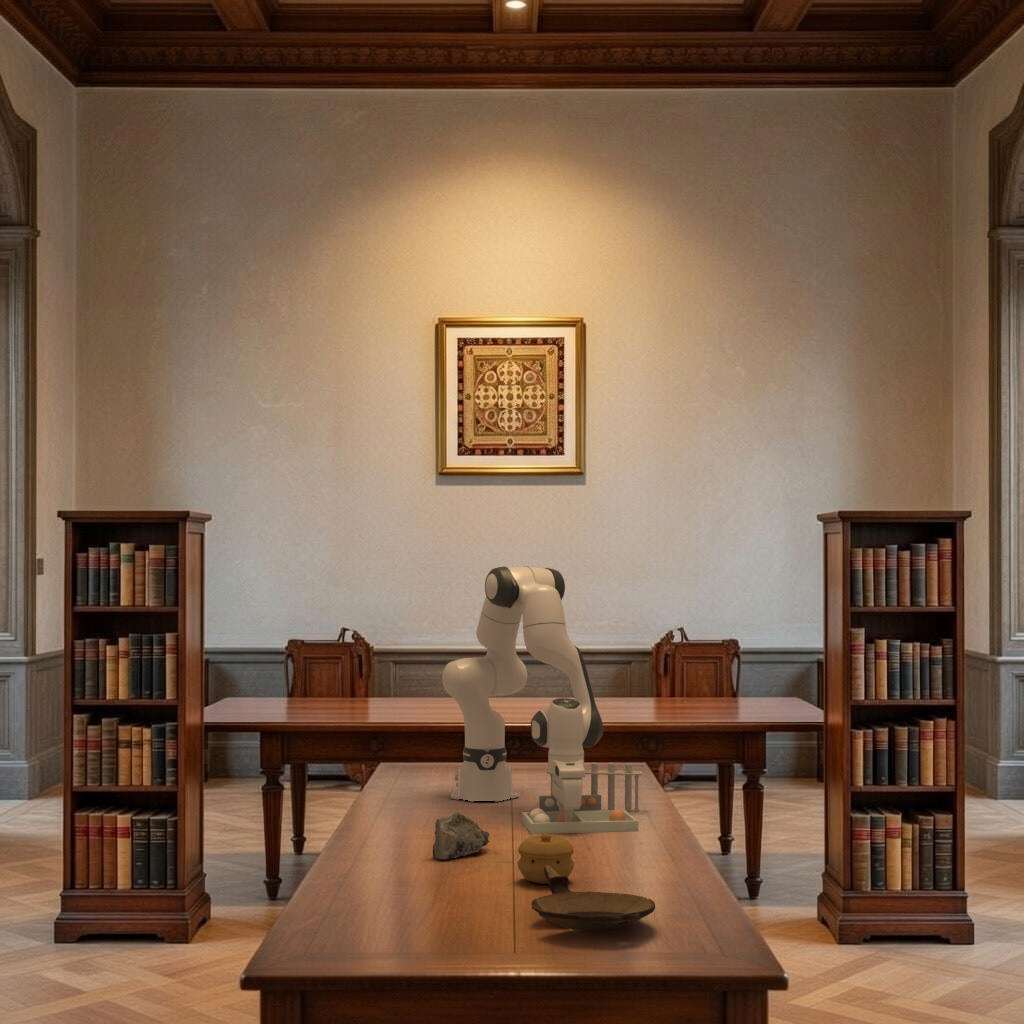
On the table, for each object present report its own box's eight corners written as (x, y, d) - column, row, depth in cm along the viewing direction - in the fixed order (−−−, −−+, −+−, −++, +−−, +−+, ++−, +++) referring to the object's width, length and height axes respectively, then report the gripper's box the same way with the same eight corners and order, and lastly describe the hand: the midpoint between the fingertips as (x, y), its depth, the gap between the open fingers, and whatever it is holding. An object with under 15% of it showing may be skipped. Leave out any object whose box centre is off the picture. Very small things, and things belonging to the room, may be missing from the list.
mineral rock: (488, 851, 316) (489, 807, 316) (491, 861, 305) (491, 816, 306) (432, 851, 315) (432, 807, 315) (432, 862, 304) (432, 816, 305)
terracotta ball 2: (607, 824, 344) (607, 807, 345) (623, 823, 345) (623, 807, 345) (611, 827, 341) (611, 810, 341) (627, 826, 341) (627, 810, 341)
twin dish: (522, 824, 347) (522, 812, 347) (625, 821, 351) (625, 809, 351) (531, 836, 332) (531, 823, 332) (638, 833, 336) (638, 821, 336)
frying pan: (540, 949, 239) (540, 904, 239) (522, 904, 269) (523, 865, 269) (667, 946, 241) (667, 902, 241) (636, 902, 271) (636, 863, 271)
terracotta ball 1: (556, 825, 343) (556, 809, 343) (572, 824, 343) (572, 808, 343) (559, 828, 339) (559, 812, 339) (575, 828, 339) (575, 811, 339)
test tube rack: (642, 813, 363) (642, 762, 363) (642, 816, 358) (642, 765, 359) (547, 811, 365) (547, 761, 365) (546, 814, 360) (546, 763, 361)
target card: (539, 819, 353) (539, 795, 353) (600, 818, 355) (600, 794, 355) (539, 820, 352) (539, 796, 352) (601, 819, 354) (601, 795, 354)
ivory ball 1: (528, 823, 345) (528, 807, 345) (544, 822, 346) (544, 806, 346) (530, 826, 341) (531, 810, 341) (546, 826, 342) (546, 809, 342)
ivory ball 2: (532, 828, 338) (532, 812, 339) (548, 828, 339) (548, 811, 339) (535, 831, 335) (535, 815, 335) (551, 831, 335) (551, 814, 335)
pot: (534, 891, 279) (534, 841, 279) (507, 878, 289) (507, 830, 290) (584, 884, 284) (584, 836, 285) (556, 872, 295) (556, 825, 295)
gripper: (546, 759, 351) (546, 813, 351) (560, 772, 331) (560, 830, 331) (570, 758, 352) (570, 813, 352) (586, 771, 332) (586, 829, 331)
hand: (565, 821), depth 341 cm, fingers closed on terracotta ball 1, 4 cm apart
